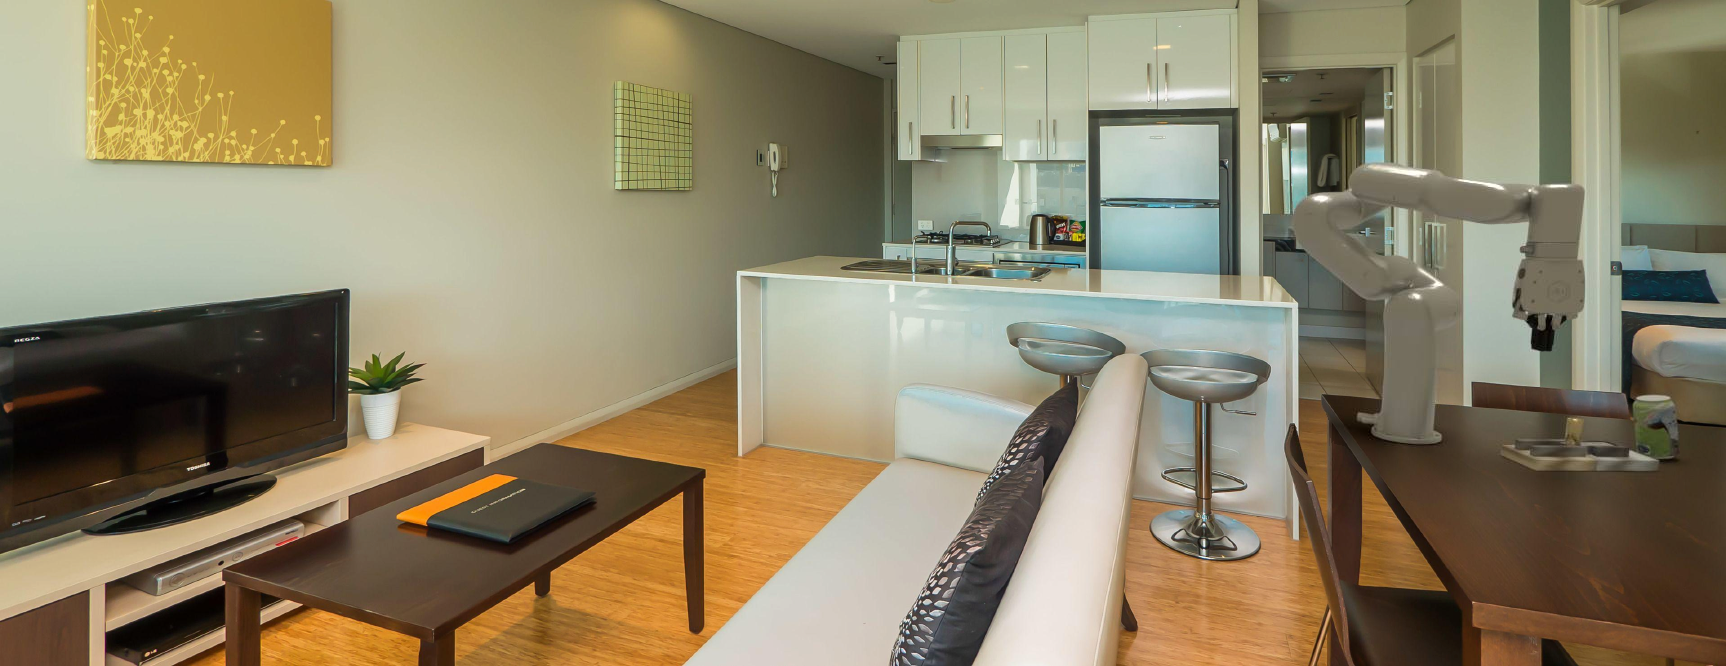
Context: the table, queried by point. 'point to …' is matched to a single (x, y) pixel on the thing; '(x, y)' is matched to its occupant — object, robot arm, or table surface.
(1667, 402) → the beverage can
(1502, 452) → the lock board
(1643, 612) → the table surface
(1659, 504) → the table surface
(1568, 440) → the bolt
